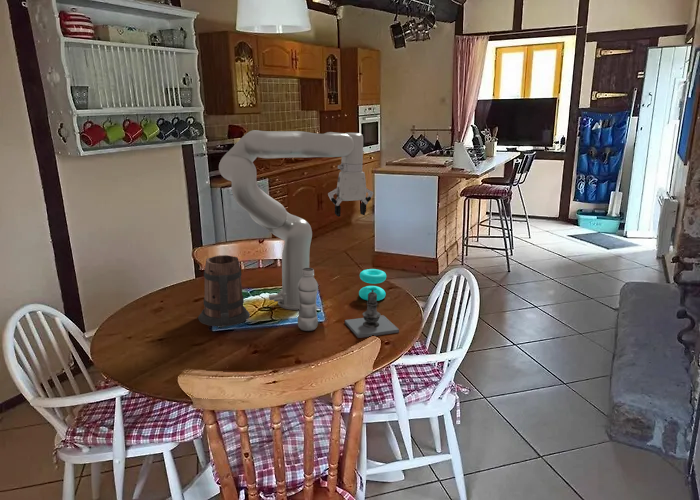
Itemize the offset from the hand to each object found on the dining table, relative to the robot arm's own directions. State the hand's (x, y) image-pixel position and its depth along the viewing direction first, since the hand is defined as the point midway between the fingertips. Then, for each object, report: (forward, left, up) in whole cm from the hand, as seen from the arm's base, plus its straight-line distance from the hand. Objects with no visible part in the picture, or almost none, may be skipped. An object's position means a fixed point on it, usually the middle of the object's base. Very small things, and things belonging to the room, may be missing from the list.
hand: (350, 215), depth 190 cm
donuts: (+7, -7, -31) cm, 32 cm away
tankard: (-48, -12, -31) cm, 58 cm away
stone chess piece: (-4, -32, -30) cm, 44 cm away
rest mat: (-4, -32, -30) cm, 44 cm away
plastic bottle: (-24, -27, -31) cm, 47 cm away
